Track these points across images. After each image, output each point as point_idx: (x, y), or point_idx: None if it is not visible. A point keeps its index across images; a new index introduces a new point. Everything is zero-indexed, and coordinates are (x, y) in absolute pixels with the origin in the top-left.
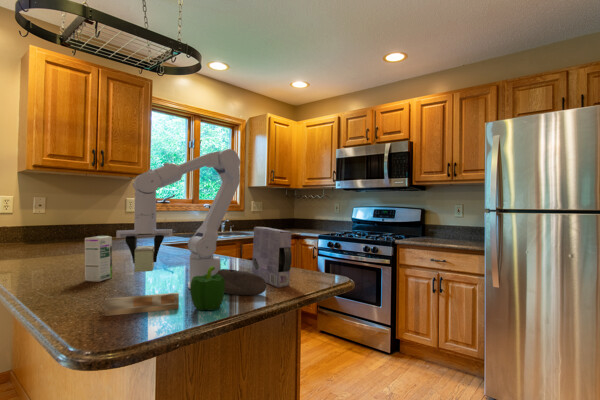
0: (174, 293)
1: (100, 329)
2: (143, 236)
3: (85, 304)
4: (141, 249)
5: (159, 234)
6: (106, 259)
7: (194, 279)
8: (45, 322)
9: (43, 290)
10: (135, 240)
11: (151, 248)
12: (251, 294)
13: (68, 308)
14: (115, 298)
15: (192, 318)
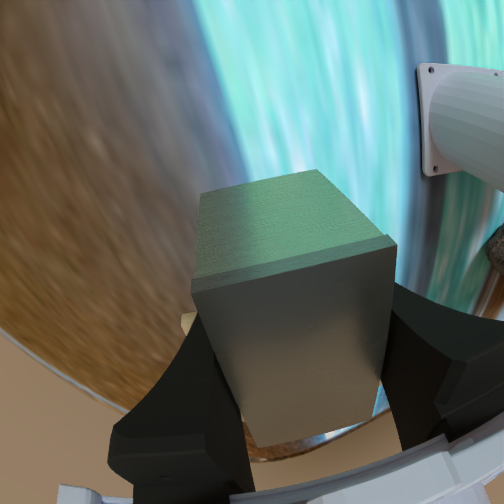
0: (381, 382)
1: (246, 429)
2: (325, 488)
3: (106, 321)
4: (300, 435)
5: (477, 440)
6: None
7: None
8: (120, 406)
9: None
10: (242, 472)
11: (364, 401)
12: None
13: (89, 345)
14: (243, 418)
15: None
